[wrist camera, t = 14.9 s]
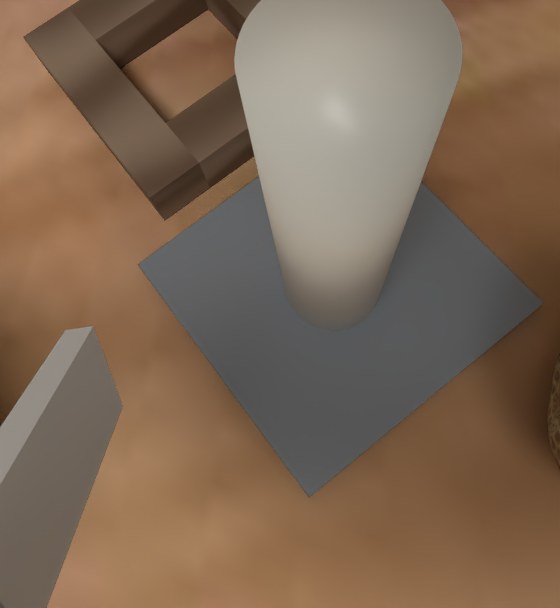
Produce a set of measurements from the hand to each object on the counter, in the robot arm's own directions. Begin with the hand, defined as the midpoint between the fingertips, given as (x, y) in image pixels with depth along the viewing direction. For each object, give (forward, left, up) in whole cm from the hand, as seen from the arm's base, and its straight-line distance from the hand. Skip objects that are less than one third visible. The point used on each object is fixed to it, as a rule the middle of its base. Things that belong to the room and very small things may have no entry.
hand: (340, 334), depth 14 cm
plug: (+4, -3, -10) cm, 11 cm away
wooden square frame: (+19, -5, -11) cm, 22 cm away
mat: (+4, -3, -11) cm, 12 cm away
